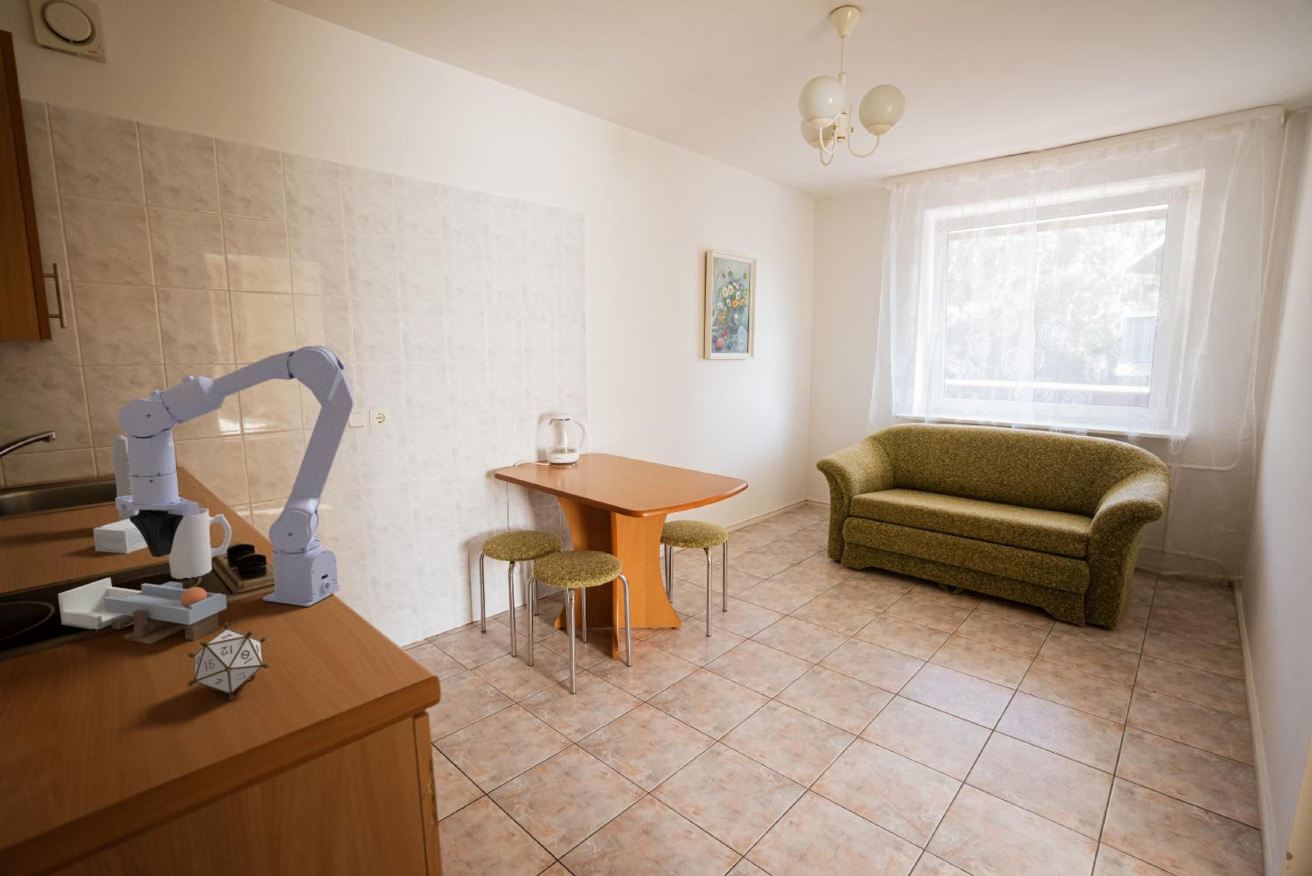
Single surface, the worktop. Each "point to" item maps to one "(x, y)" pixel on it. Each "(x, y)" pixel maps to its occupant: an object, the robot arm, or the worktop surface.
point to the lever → (166, 604)
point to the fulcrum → (163, 627)
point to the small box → (118, 537)
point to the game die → (227, 661)
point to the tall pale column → (122, 473)
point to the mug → (196, 545)
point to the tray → (91, 605)
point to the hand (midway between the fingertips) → (161, 555)
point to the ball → (193, 596)
